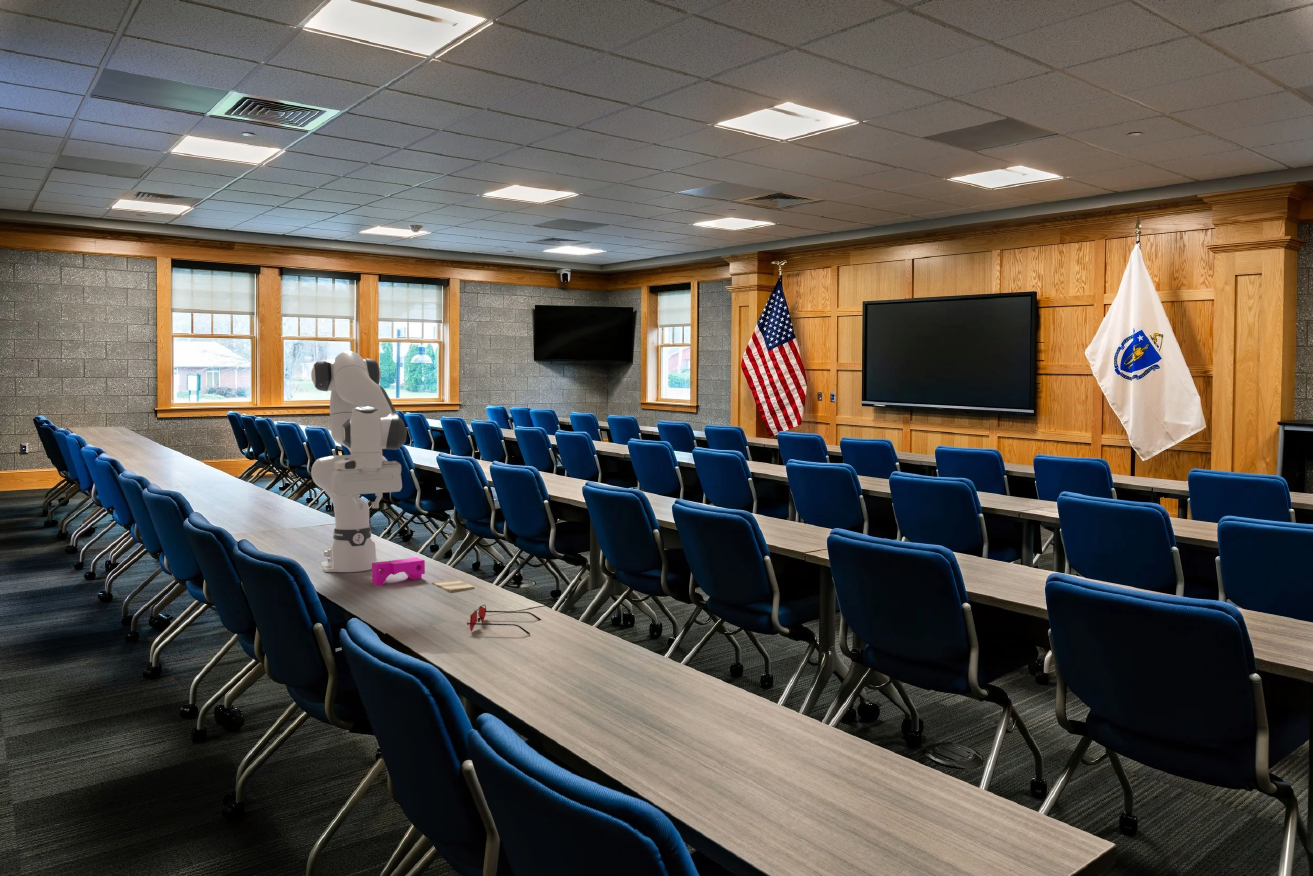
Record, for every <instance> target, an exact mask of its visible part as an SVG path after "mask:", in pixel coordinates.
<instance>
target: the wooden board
mask: <svg viewBox="0 0 1313 876" xmlns="http://www.w3.org/2000/svg"><path fill="white" fill-rule="evenodd" d="M431 584H432V585H434V586H435V587H438V588H440V589H441V590H444V591H446V592H448V593H456V592H461V591H467V590H474V589H475V586H474V585H471V584H469V583H466V582H463V581H461V580H458V579H457V578H456V579H455V578H454V579H447V580H439V581H431Z"/></svg>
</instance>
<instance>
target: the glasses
mask: <svg viewBox="0 0 1313 876" xmlns="http://www.w3.org/2000/svg"><path fill="white" fill-rule="evenodd" d="M486 613H502V614H503V613H504V614H505V613H509V614H511V613H512V614H513V613H515V614H528V615H531V616H532V617H534V618H536V620H538V621H542V619H541V618H540V617H539V616H537V615H535V614H534V613H532V612H530V611H515V610H514V611H512V610H511V611H510V610H509V611H507V610H487V606H486V604H482V605H479V607H478V609H477V608H476V609H475V610H473V612H472V613H471V614H470V615H469V619H470V620H469V622H466V625H468V626H469V630H470V632H473V630H474V628H475V626H512V627H513V626H514V627H517V628H519V629H520V630H522V631H523V632H524V633H525V634H527V635H530V634H531V633H530V632H529V631H527V629H525V628H524V627H522V626H520V625H518V624H515V623H491V622H490V623H487V622H484V620H485V618H486Z"/></svg>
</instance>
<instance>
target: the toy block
mask: <svg viewBox="0 0 1313 876" xmlns="http://www.w3.org/2000/svg"><path fill="white" fill-rule="evenodd" d="M425 560H426V559H422V558H419V557H408V558H402V559H394V560H393V559H391V560H385V561H377V562H375V563H372V569H371V583H372V584H373V586H374V585H375V586H384V584H385V581H386V580H387V578H388V577H390V575H392V576H395V575H396V574H397V575H398V574H400V573H405V574H406V575H407V578H408V577H409V579H411V580H413V579H414V580H418V578H420V579H422V575H425V574H426V564H425V563H426V561H425Z"/></svg>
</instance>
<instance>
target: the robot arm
mask: <svg viewBox="0 0 1313 876" xmlns="http://www.w3.org/2000/svg"><path fill="white" fill-rule="evenodd" d="M310 377H311V380H312V383H313V385H314V387H315V389H316V390H318V391H321V392H330V399H329V417H330V432H331V438H332V439H333V441H335V442H336V443H337V444H339V445H341V446H344V447H345V448H347V449H348V451H349V452H350V454H343V455H342V454H341V455H329V456H323V457H320V458H317V459H316V460H315V461H314V463H313V464H312V467H311V470H310V471H311V472H310V474H311V475H310V476H311V478H312V482H313V483H315V485H316V486H317V487H319V488H320V489H322V490H323V491H324V492H325V493H326V495H328V497H329V498H330V500H331V502H332V505H333V512H334V522H335V523H334V525H335V527H334V529H333V533H332V534H333V536H332V537H333V540H332V541H331V544H330V545H329V547H328V548H327V550H324V551H323V557H324V558H327V560H325V561H322V562H321V563H320V565H321V567H322V570H323V571H324V572H325V573H355V572H365V571H370V570H372V563H375V562H378V561H377V551H376V550H377V549H376V548H377V547H376V543H375V541H373V540H372V538H371V537H372V527H371V525H370V507H369V504H368V503H367V500H364V499H362V498H360V495H368V494H374V495H375V497H376V498H375V500H374V501H372V502H371V508H372V509H374V510H375V509H379V508H380V504H379V503H380V501H381V500H382V498H383V493H397V492H401V490H402V488H403V482H402V480H403V479H402V464H401V463H400V462H398V461H397V460H391V461H389V460H388V459H387V458H386V457H385V456H384V455H383V450H392V451H393V450H395V451H396V450H398V449H399V448H401V447H402V446H403V445H404V444H405V443H406V441H407V427H406V425H405V422H404V421H403V419H402V418H401V417H400V415H399V414H398V413H397V410H396V408H395V407H394V404H393V403H392V401H391V399H390V396H389V395H388V393H387V392H386V389H384V387H383V386H381V385H380V381H381V378H382V373H381V368H380V365H379V363H378V361H376V359H373V358H368V357H366V358H362V356H361V355H360V354H359V353H357V352H355V351H352V350H347V351H342V352H339V354H337V355H336V357H335V358H334V359H322V360H321V359H320V360H317V361H316V362H315V363H314V364H313V366H312V369H311V374H310Z"/></svg>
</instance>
